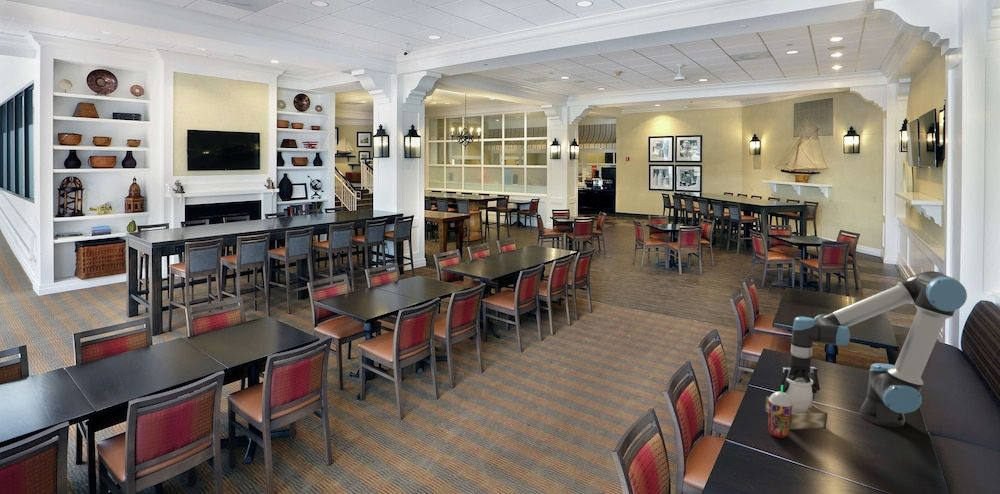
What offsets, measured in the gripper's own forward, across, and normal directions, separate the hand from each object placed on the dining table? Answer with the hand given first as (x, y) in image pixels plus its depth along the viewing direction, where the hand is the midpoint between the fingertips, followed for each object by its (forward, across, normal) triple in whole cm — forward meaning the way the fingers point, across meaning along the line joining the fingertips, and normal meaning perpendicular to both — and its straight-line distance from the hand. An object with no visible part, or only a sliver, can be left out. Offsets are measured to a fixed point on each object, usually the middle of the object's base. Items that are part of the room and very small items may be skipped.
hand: (795, 406), depth 222 cm
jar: (+3, 0, 0) cm, 3 cm away
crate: (+5, 0, 0) cm, 5 cm away
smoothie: (+5, +15, +12) cm, 20 cm away
